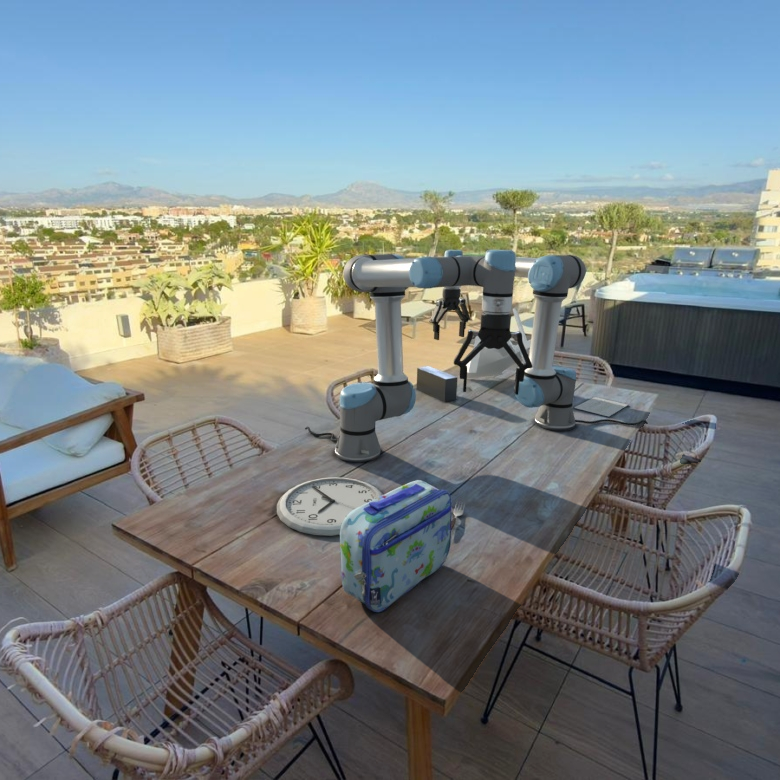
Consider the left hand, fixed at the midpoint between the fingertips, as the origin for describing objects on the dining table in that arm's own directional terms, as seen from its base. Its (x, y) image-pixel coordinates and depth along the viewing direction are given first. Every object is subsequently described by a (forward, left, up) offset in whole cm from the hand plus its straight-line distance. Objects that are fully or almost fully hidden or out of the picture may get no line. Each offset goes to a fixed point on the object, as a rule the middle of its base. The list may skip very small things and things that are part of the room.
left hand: (490, 391), depth 140 cm
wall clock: (-33, -27, -31) cm, 53 cm away
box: (-53, +79, -31) cm, 100 cm away
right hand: (-46, +75, -4) cm, 88 cm away
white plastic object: (-33, +109, -31) cm, 118 cm away
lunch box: (-1, -46, -31) cm, 55 cm away
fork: (-1, -17, -31) cm, 36 cm away
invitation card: (+15, +103, -31) cm, 108 cm away
